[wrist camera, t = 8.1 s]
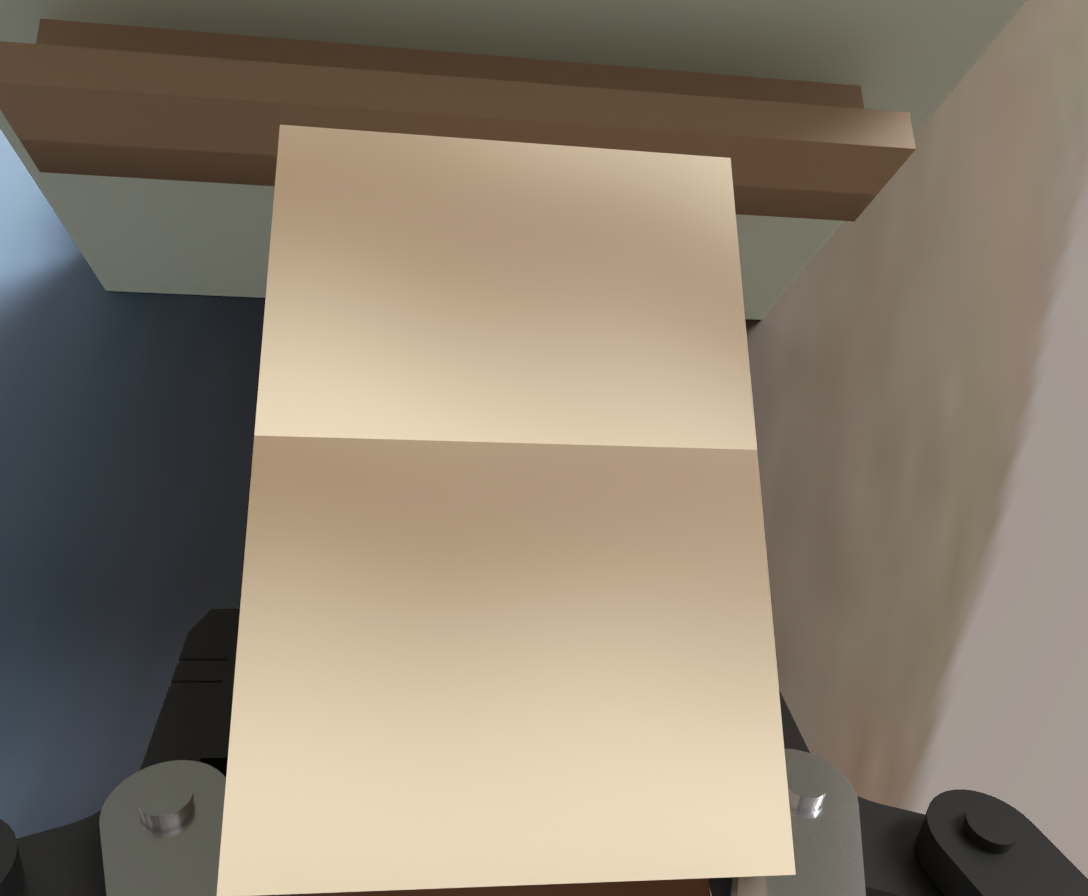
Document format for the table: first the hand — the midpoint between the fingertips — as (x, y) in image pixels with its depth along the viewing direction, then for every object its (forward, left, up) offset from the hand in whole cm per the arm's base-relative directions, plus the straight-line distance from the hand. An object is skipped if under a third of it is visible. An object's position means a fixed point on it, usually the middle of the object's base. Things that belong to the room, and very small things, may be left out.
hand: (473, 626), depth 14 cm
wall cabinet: (0, 0, -5) cm, 5 cm away
